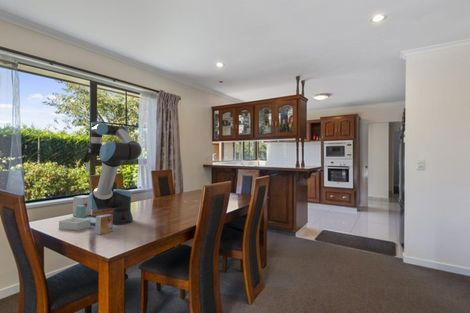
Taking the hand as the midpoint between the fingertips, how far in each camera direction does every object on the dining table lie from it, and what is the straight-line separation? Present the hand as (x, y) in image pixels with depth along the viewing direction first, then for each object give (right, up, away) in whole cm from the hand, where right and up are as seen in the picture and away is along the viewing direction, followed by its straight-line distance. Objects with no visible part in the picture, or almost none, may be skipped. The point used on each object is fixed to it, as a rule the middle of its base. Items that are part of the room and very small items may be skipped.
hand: (95, 171), depth 181 cm
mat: (+3, -35, -10) cm, 37 cm away
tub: (0, -35, -23) cm, 42 cm away
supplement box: (-16, -35, +9) cm, 39 cm away
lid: (+1, -35, -9) cm, 36 cm away
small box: (+23, -36, -31) cm, 53 cm away
